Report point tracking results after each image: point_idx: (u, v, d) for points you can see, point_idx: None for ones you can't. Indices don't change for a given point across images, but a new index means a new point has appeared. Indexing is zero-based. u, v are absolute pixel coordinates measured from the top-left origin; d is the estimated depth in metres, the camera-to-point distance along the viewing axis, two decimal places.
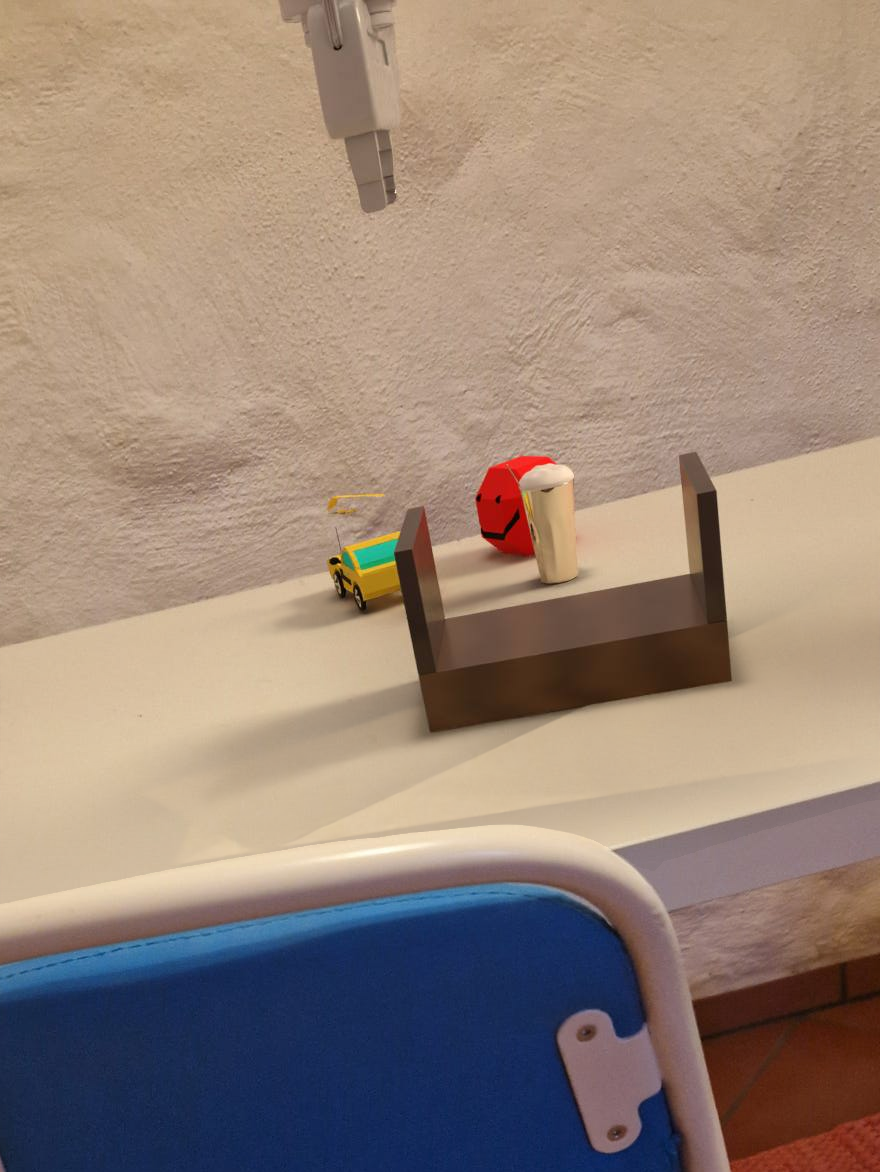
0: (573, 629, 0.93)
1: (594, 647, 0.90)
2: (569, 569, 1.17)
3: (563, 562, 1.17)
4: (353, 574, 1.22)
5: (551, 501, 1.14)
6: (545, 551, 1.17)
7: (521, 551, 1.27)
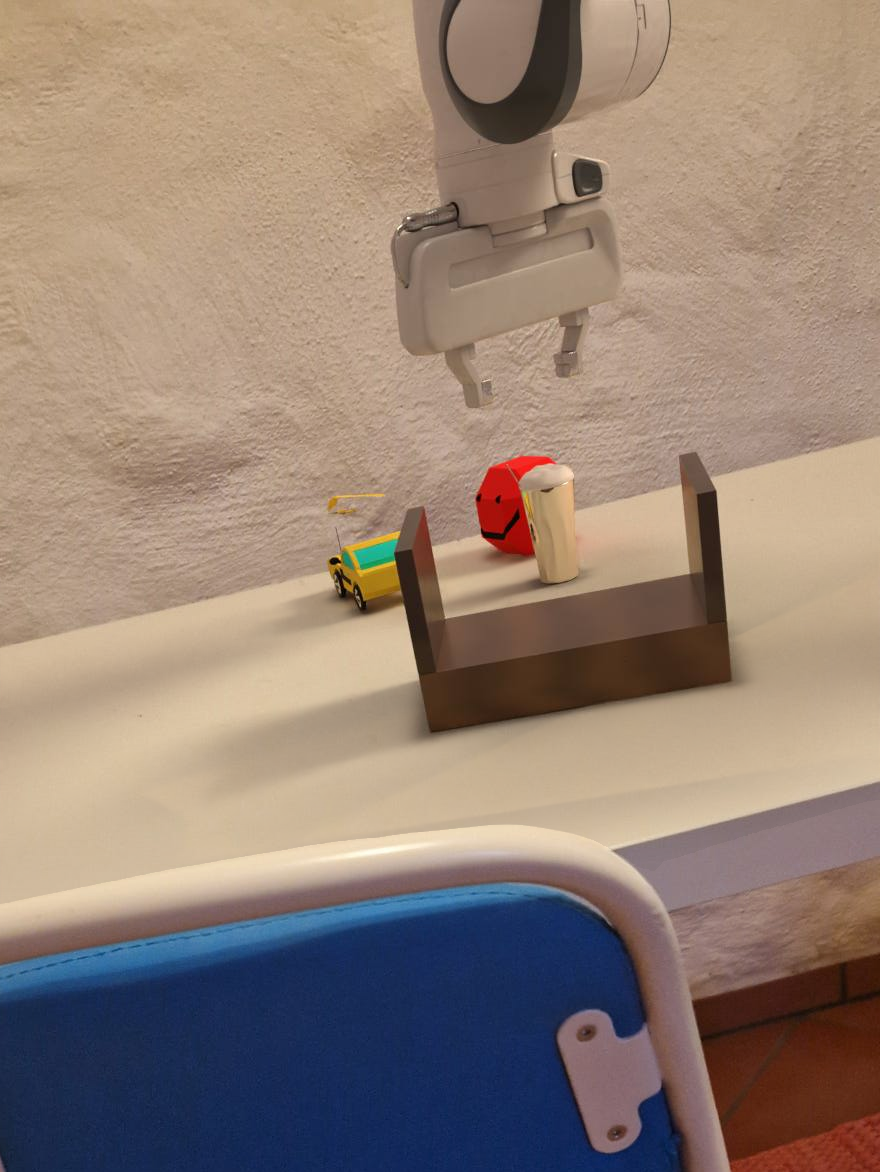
0: (573, 629, 0.93)
1: (594, 647, 0.90)
2: (569, 569, 1.17)
3: (563, 562, 1.17)
4: (353, 574, 1.22)
5: (551, 501, 1.14)
6: (545, 551, 1.17)
7: (521, 551, 1.27)
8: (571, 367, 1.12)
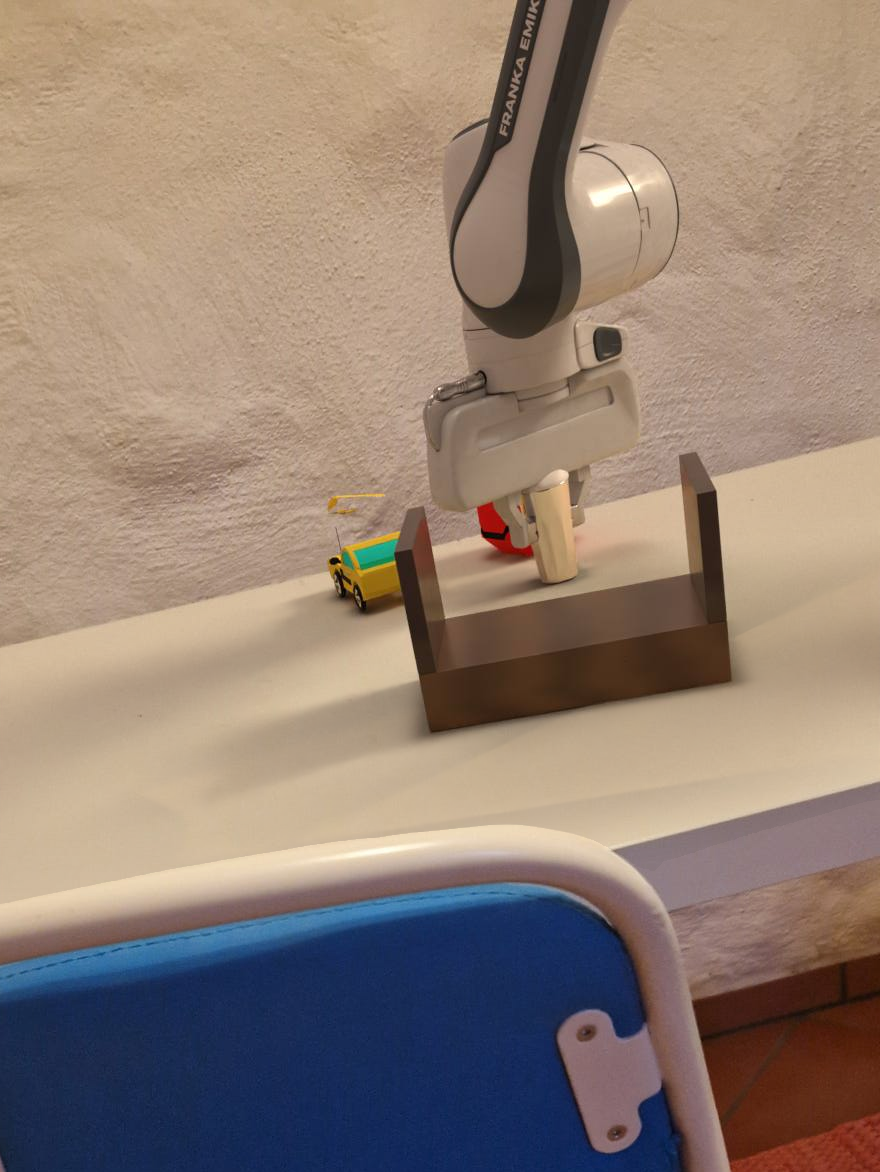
0: (573, 629, 0.93)
1: (594, 647, 0.90)
2: (569, 568, 1.17)
3: (562, 562, 1.17)
4: (353, 574, 1.22)
5: (547, 502, 1.14)
6: (543, 551, 1.17)
7: (521, 551, 1.27)
8: (573, 520, 1.17)
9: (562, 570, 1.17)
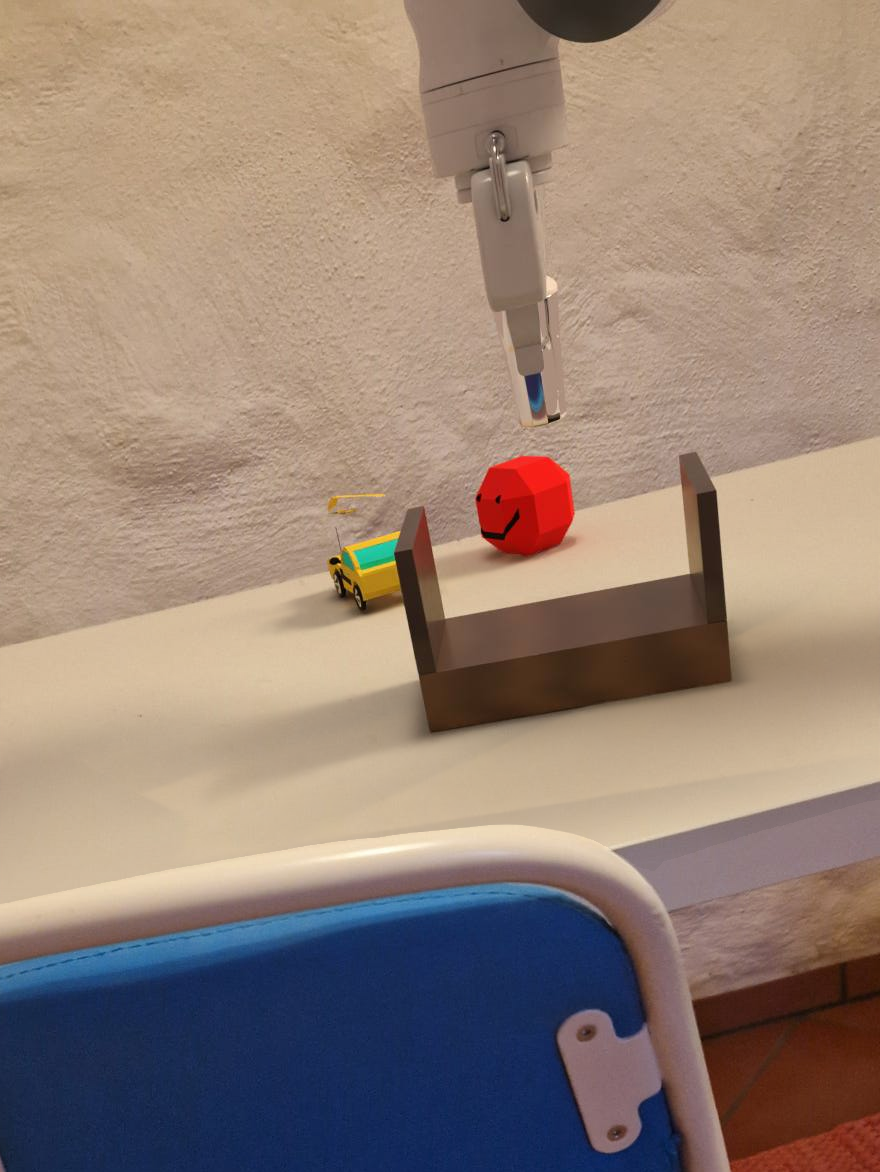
0: (573, 629, 0.93)
1: (594, 647, 0.90)
2: (564, 402, 0.97)
3: (561, 393, 0.96)
4: (353, 574, 1.22)
5: (553, 312, 0.93)
6: (545, 381, 0.95)
7: (521, 551, 1.27)
8: None
9: (561, 404, 0.96)
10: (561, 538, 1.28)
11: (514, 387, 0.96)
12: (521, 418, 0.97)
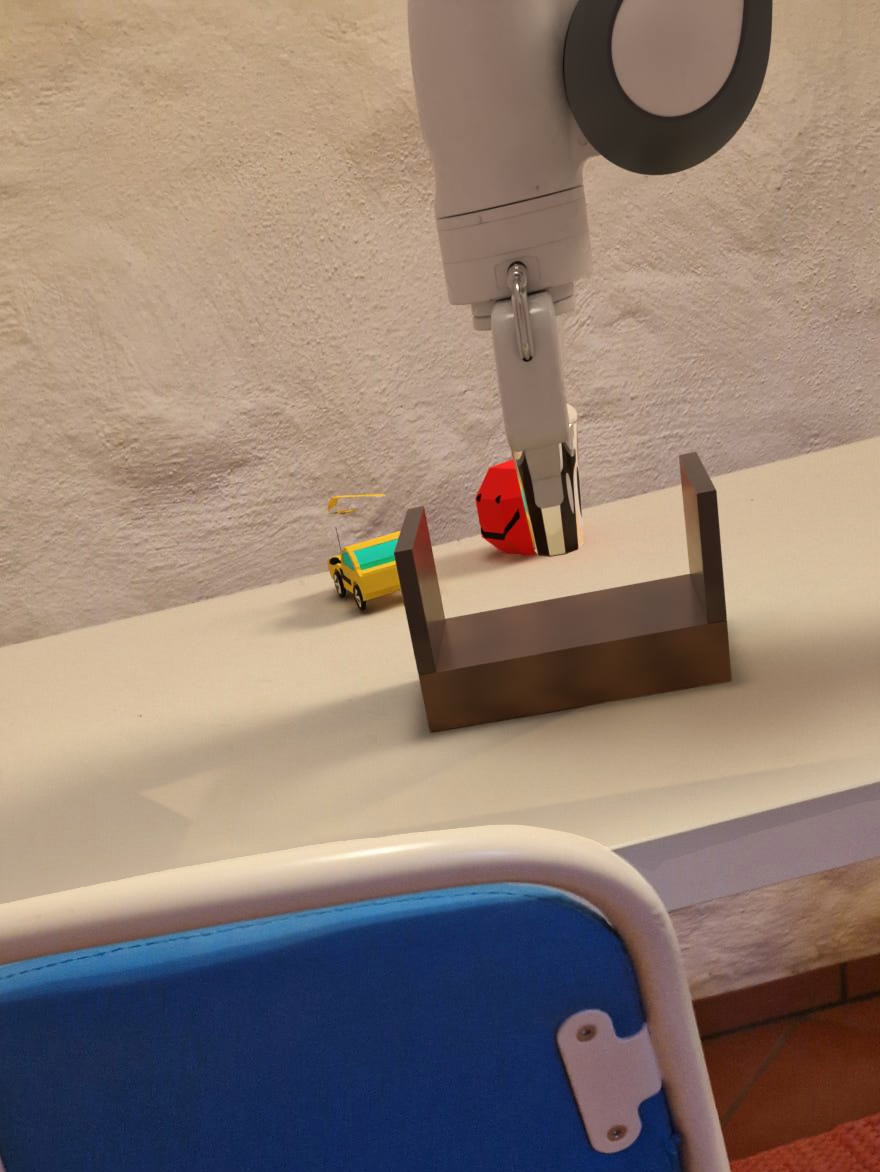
0: (573, 629, 0.93)
1: (594, 647, 0.90)
2: (582, 530, 0.92)
3: (579, 522, 0.91)
4: (353, 574, 1.22)
5: (572, 442, 0.88)
6: (563, 511, 0.90)
7: (521, 551, 1.27)
8: None
9: (579, 533, 0.92)
10: None
11: (530, 516, 0.91)
12: (537, 547, 0.92)
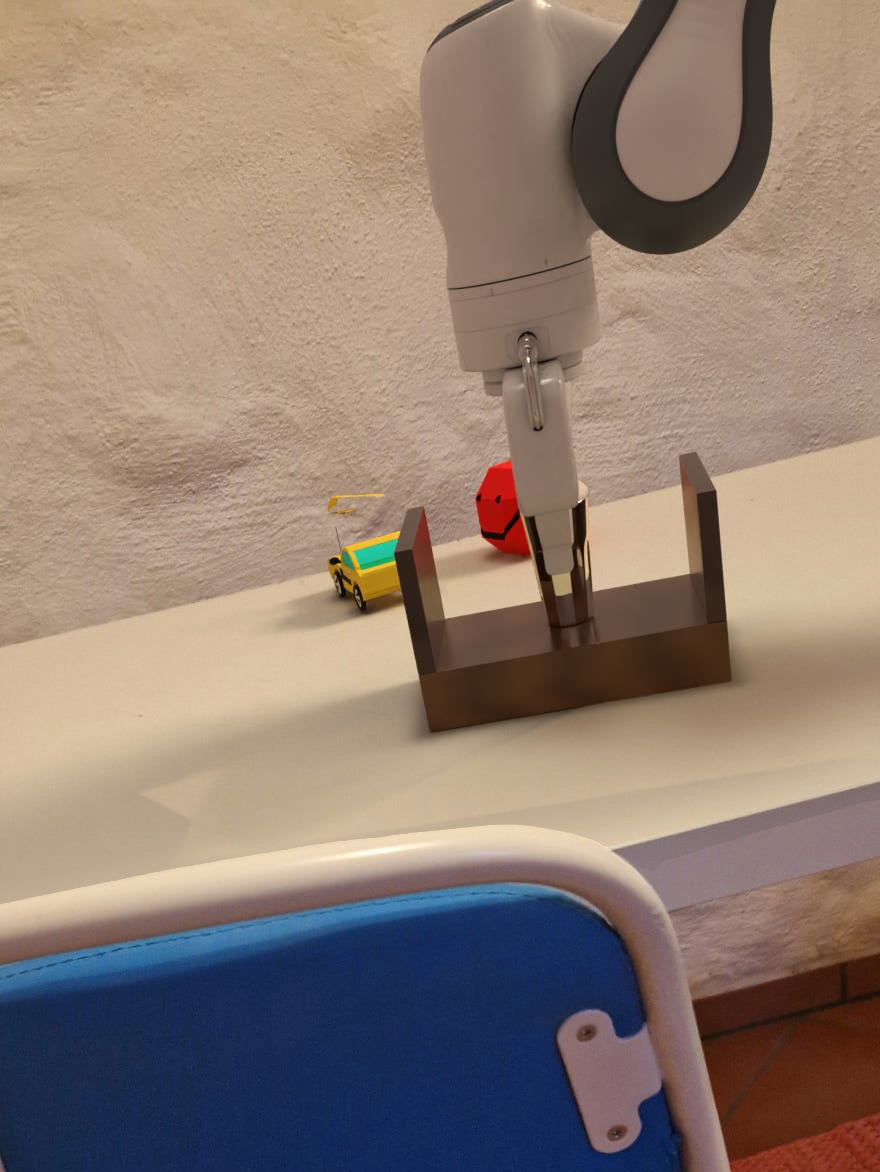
0: (573, 629, 0.93)
1: (594, 647, 0.90)
2: (592, 601, 0.94)
3: (589, 593, 0.94)
4: (353, 574, 1.22)
5: (583, 517, 0.90)
6: (574, 583, 0.92)
7: (521, 551, 1.27)
8: None
9: (589, 604, 0.94)
10: None
11: (541, 587, 0.93)
12: (548, 617, 0.95)
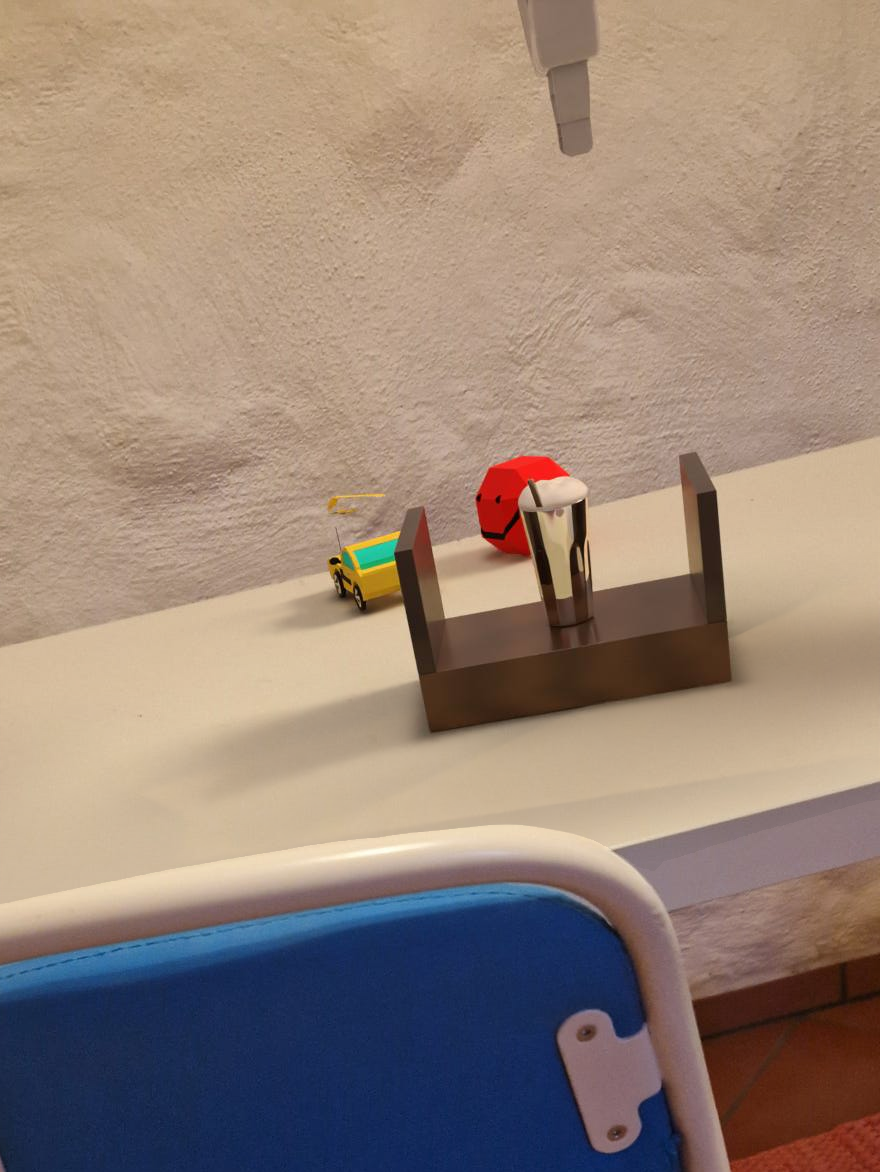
0: (573, 629, 0.93)
1: (594, 647, 0.90)
2: (592, 602, 0.95)
3: (589, 593, 0.94)
4: (353, 574, 1.22)
5: (583, 516, 0.91)
6: (574, 582, 0.92)
7: (521, 551, 1.27)
8: None
9: (589, 604, 0.94)
10: None
11: (541, 587, 0.94)
12: (548, 617, 0.95)
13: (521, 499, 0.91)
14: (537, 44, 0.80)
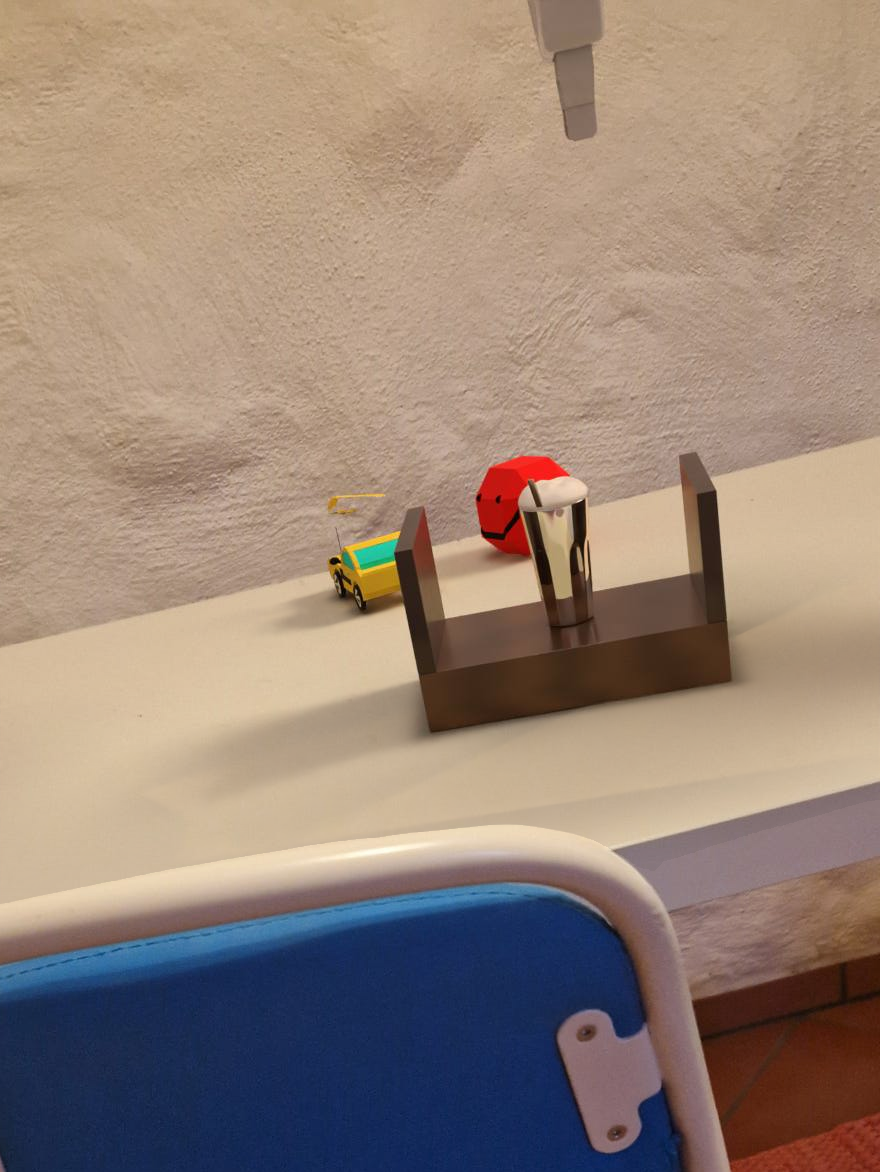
0: (573, 629, 0.93)
1: (594, 647, 0.90)
2: (592, 602, 0.95)
3: (589, 593, 0.94)
4: (353, 574, 1.22)
5: (583, 516, 0.91)
6: (574, 582, 0.92)
7: (521, 551, 1.27)
8: None
9: (589, 604, 0.94)
10: None
11: (541, 587, 0.94)
12: (548, 617, 0.95)
13: (521, 499, 0.91)
14: (542, 28, 0.80)
